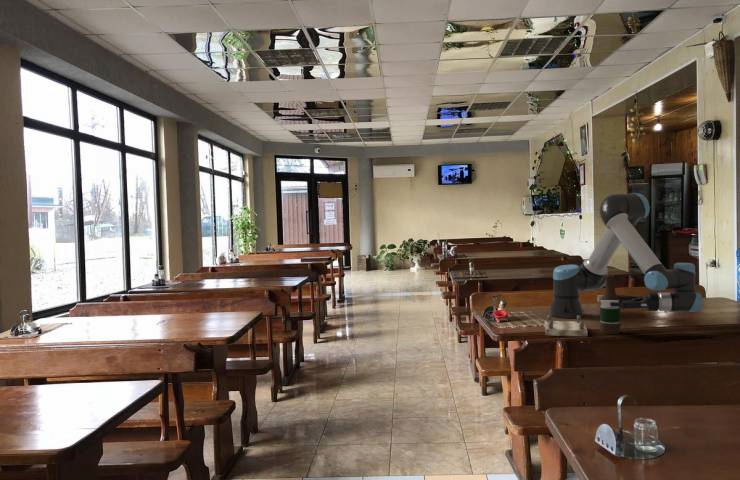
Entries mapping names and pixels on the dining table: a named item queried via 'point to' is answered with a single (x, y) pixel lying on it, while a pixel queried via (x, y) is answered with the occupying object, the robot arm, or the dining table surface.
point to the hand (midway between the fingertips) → (599, 301)
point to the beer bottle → (610, 309)
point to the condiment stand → (565, 327)
